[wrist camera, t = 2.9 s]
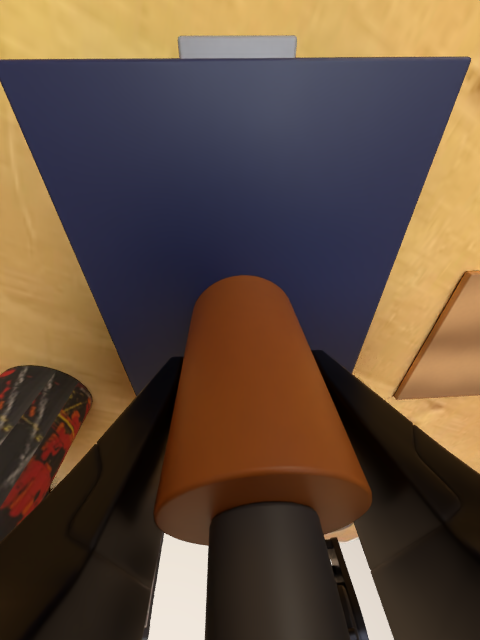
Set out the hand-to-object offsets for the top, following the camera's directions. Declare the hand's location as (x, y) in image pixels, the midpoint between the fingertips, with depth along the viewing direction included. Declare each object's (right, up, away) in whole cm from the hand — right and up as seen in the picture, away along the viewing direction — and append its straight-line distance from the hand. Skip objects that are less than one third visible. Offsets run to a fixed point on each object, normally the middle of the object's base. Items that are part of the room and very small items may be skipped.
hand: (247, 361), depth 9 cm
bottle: (0, +1, +2) cm, 2 cm away
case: (0, +3, +4) cm, 6 cm away
